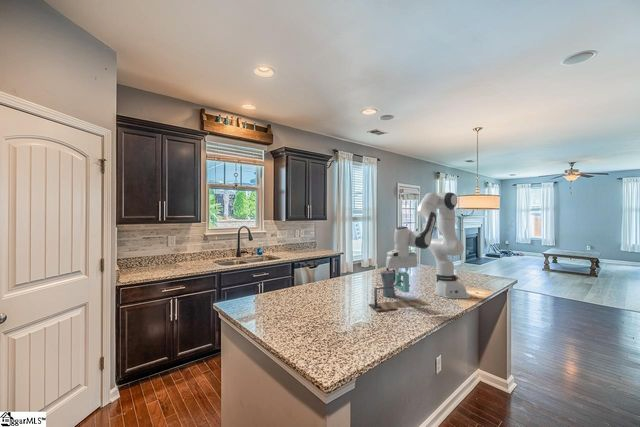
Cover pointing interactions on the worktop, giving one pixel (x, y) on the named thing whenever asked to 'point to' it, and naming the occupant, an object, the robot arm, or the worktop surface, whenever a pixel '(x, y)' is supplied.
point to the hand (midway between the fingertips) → (401, 275)
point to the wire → (376, 294)
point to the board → (399, 305)
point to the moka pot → (388, 282)
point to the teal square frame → (405, 281)
